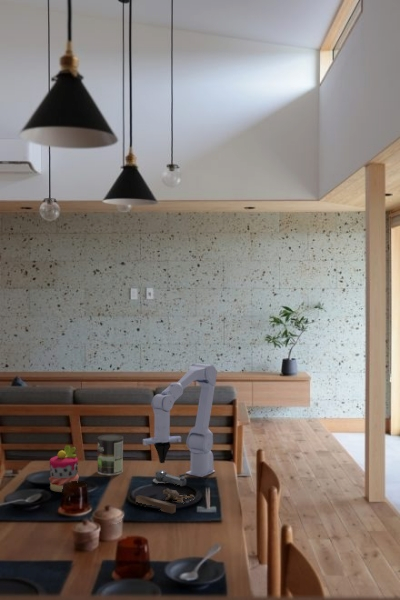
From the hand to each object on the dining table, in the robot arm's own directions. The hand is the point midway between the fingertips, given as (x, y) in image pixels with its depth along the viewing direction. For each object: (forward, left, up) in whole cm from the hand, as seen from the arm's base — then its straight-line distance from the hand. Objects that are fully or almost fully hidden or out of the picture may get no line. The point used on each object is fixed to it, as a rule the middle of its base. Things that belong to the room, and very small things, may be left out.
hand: (162, 462), depth 248 cm
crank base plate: (-5, -4, -9) cm, 11 cm away
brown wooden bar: (+19, +13, -9) cm, 25 cm away
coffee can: (-2, -28, -9) cm, 30 cm away
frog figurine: (+8, +13, -10) cm, 18 cm away
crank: (-4, +1, -8) cm, 10 cm away
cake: (+23, -28, -9) cm, 38 cm away
